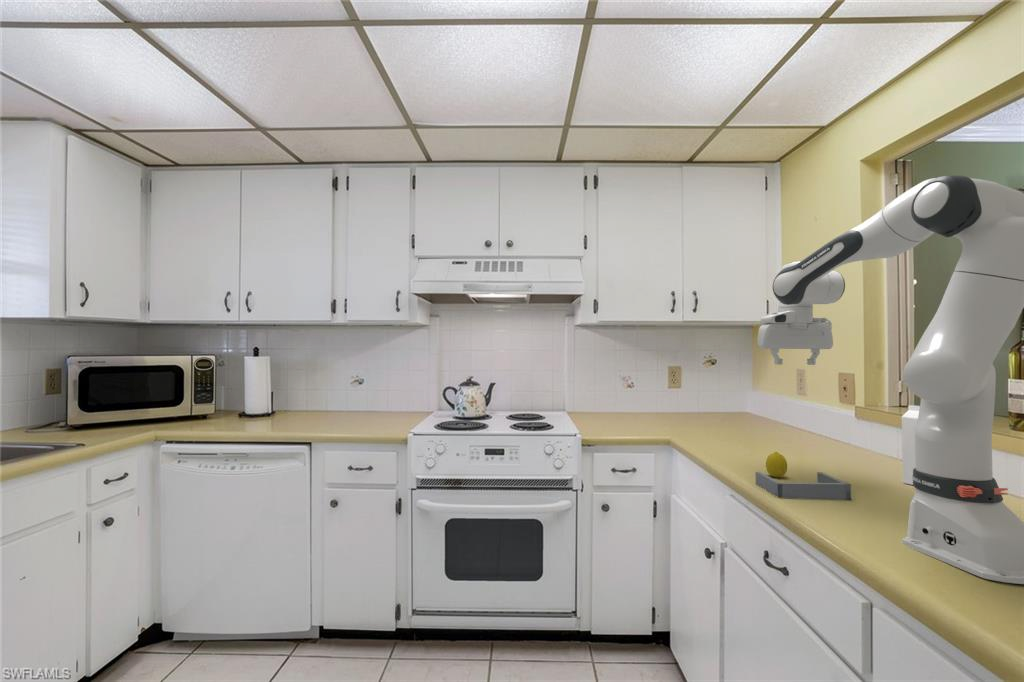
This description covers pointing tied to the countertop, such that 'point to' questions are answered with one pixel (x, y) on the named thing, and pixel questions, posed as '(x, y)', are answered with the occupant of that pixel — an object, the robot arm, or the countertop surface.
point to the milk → (909, 442)
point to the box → (807, 488)
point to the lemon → (776, 465)
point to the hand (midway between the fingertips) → (794, 364)
